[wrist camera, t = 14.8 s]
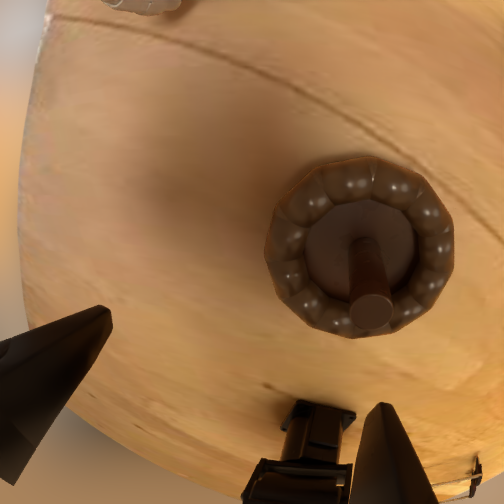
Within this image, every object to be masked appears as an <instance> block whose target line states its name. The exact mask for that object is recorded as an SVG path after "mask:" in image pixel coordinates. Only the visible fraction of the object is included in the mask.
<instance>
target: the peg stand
mask: <svg viewBox="0 0 504 504" xmlns="http://www.w3.org/2000/svg"><path fill="white" fill-rule="evenodd" d="M303 256H304V260H305V264H306V267H307V271H308V275H309V278H310V279H311V280H312V281H313V282H314V283H315V284H316V285H317V286H318V287H319V288H320V289H321V290H322V291H323V292H324V293H325V294H326V295H327V296H328V297H331V298H334V299H337V300H340V301H344V302H347V303H349V315H350V319H351V321H352V322H353V323H354V325H356V326H357V327H359V328H361V329H364V330H375V329H379V328H381V327H383V326H385V325H386V324H387V323H388V322H389V321H390V319H391V318H392V315H393V311H394V309H393V303H392V298H391V295H393V294H394V293H396V292H397V291H399V290H400V289H401V288H403V287H404V286H406V285H407V284H408V282H409V280H410V278H411V276H412V274H413V272H414V270H415V268H416V266H417V264H418V262H419V260H420V256H419V242H418V233H417V232H416V230H415V229H414V228H413V226H412V225H411V224H410V222H409V221H408V220H407V218H406V217H405V216H404V215H403V213H402V212H401V211H400V210H398V209H395V208H392V207H389V206H387V205H384V204H381V203H379V202H376V201H373V200H370V199H369V200H363V201H358V202H353V203H348V204H342V205H337V206H335V207H334V208H332V209H331V210H330V211H329V212H328V213H327V214H326V215H324V216H323V217H322V218H321V219H320V220H319V221H317V222H316V223H315V224H314V225H313V226H312V227H311V229H310V232H309V235H308V239H307V242H306V245H305V248H304V251H303Z"/></svg>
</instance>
